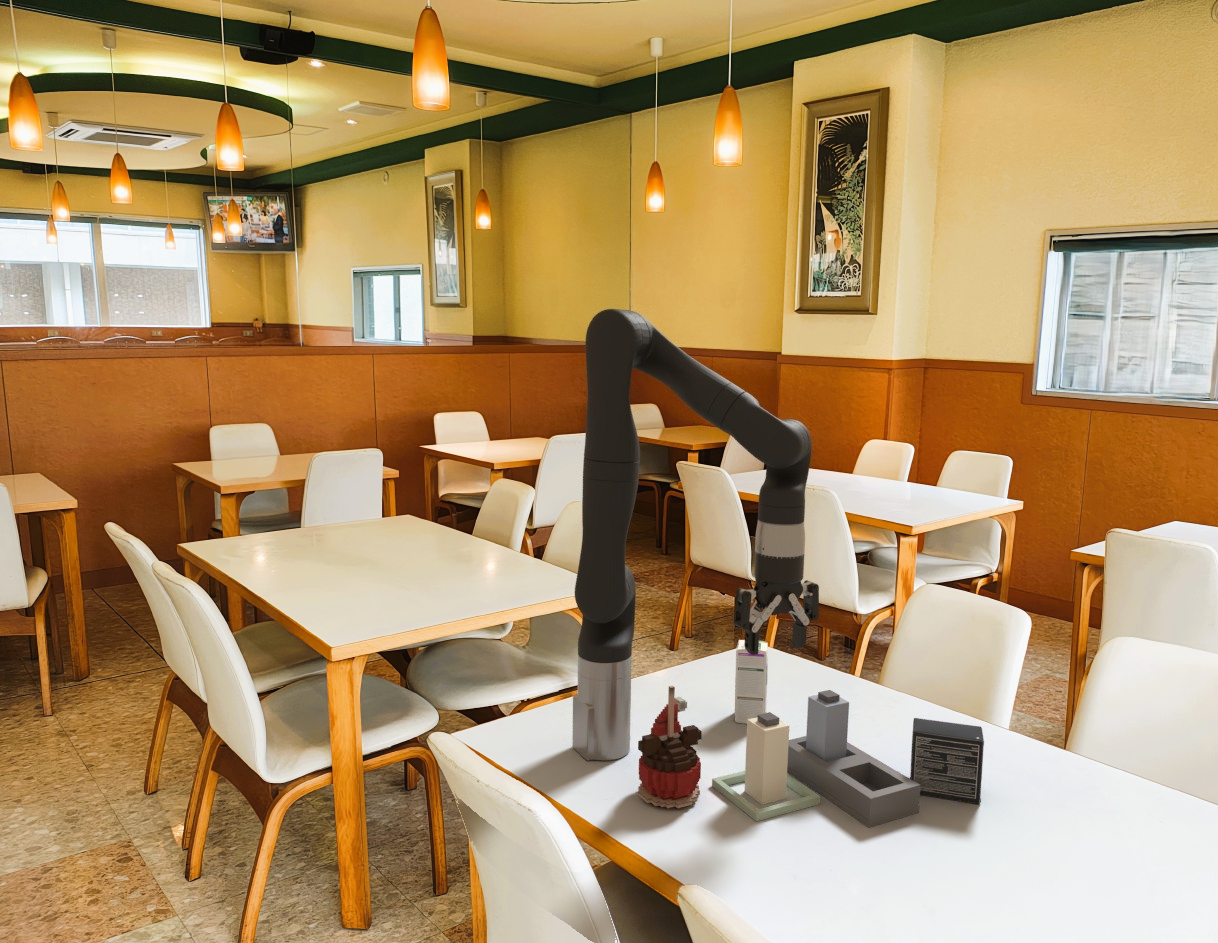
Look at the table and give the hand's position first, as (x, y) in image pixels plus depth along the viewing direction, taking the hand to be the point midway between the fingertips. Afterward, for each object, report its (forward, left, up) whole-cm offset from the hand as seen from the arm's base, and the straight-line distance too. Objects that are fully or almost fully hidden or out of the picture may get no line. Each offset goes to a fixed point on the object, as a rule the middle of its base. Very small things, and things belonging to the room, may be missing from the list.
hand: (775, 650), depth 142 cm
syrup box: (+12, +23, -23) cm, 35 cm away
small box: (+24, -13, -23) cm, 36 cm away
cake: (-17, +4, -23) cm, 28 cm away
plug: (-3, -2, -23) cm, 23 cm away
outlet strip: (+10, -6, -23) cm, 26 cm away
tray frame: (-3, -2, -23) cm, 23 cm away
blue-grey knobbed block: (+10, -1, -22) cm, 24 cm away
